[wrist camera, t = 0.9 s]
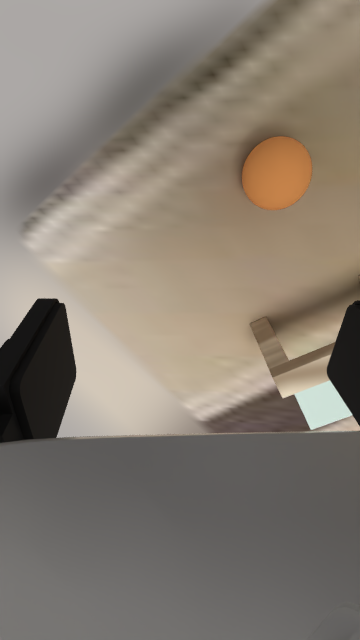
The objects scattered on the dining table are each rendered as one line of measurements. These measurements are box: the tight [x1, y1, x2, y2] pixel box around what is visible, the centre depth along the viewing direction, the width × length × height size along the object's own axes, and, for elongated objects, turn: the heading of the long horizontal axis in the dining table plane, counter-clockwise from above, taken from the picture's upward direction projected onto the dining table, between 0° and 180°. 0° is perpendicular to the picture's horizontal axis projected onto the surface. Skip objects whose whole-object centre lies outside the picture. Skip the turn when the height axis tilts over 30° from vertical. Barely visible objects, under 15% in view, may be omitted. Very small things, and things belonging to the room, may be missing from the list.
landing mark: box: [295, 380, 352, 430], centre depth 43 cm, size 12×12×1 cm
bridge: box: [250, 275, 360, 398], centre depth 33 cm, size 3×14×9 cm, turn 118°
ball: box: [242, 136, 312, 210], centre depth 27 cm, size 6×6×6 cm
